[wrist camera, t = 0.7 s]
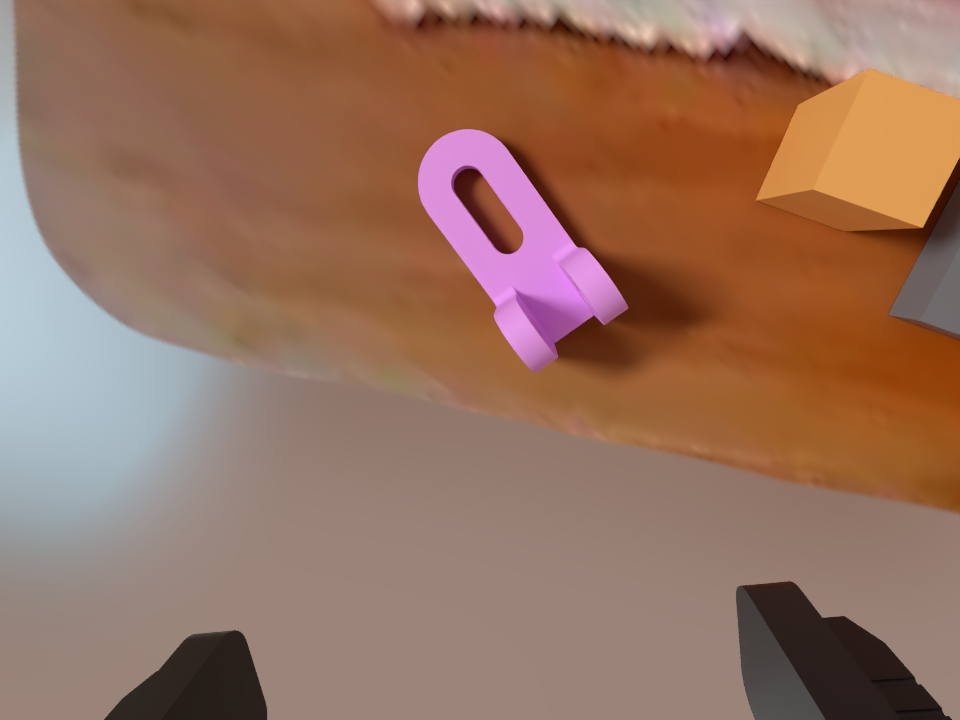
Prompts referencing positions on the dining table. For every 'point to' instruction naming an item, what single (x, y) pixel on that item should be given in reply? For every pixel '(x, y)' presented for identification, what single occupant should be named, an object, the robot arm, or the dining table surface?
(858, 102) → the orange wooden cube
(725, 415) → the dining table surface
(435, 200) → the bracket
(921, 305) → the mounting plate
